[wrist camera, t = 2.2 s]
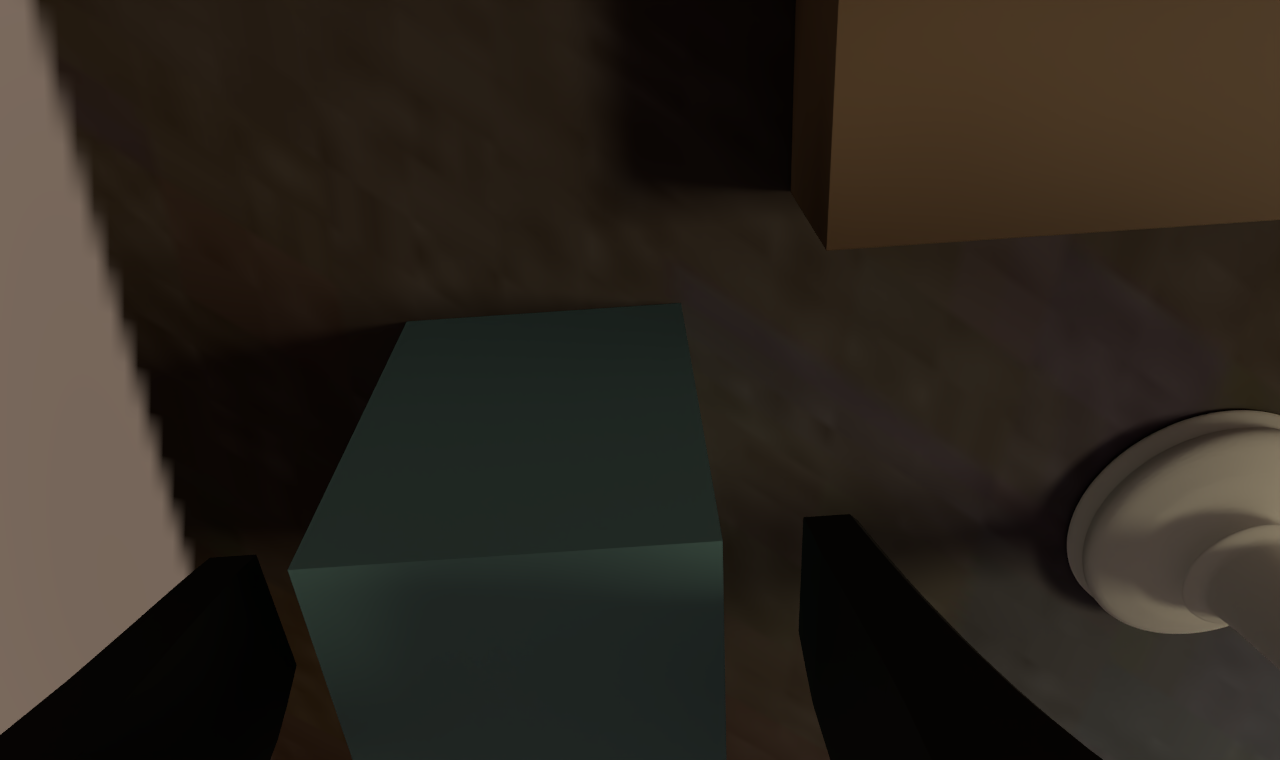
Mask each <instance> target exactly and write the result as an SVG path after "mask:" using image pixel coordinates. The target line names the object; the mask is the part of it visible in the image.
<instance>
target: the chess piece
mask: <svg viewBox="0 0 1280 760" xmlns="http://www.w3.org/2000/svg"><path fill="white" fill-rule="evenodd" d="M1067 556H1068V561H1069V565H1070V568H1071V570H1072V572H1073V575H1074V576H1075V578H1076V580H1077V581H1078V583H1079V584H1080V585H1081V586H1082V588H1083V589H1084V590H1085V591H1086V592H1087V593H1088V594H1090V595H1091V596H1092V597H1094V599H1095V600H1096V602H1097V603H1098V604H1099V605H1100V606H1101V607H1102V608H1103V609H1104V610H1105V611H1106V612H1107V613H1109V614H1110V615H1111V616H1113V617H1114V618H1116V619H1117V620H1119V621H1121V622H1123V623H1125V624H1127V625H1130V626H1133V627H1135V628H1138V629H1142V630H1146V631H1151V632H1157V633H1167V634H1187V633H1197V632H1204V631H1210V630H1215V629H1219V628H1223V627H1227V626H1231V627H1232V628H1233V629H1234V630H1235V631H1237V632H1238V633H1239V634H1240V635H1241V636H1242V637H1244V638H1245V639H1246V640H1247V641H1248V642H1249V643H1250V644H1251V645H1253V646H1254V647H1255V648H1256V649H1257V650H1258V651H1259V652H1260V653H1261V654H1263V655H1264V656H1265V657H1266V658H1267V659H1268V660H1269V661H1270V662H1271V663H1273V664H1274V665H1275V666H1276V667H1277V668H1278V669H1279V670H1280V415H1277V414H1273V413H1269V412H1263V411H1253V410H1231V411H1221V412H1215V413H1209V414H1204V415H1200V416H1196V417H1192V418H1189V419H1186V420H1183V421H1180V422H1177V423H1175V424H1172V425H1170V426H1167V427H1165V428H1163V429H1161V430H1159V431H1157V432H1155V433H1153V434H1151V435H1149V436H1147V437H1145V438H1144V439H1142V440H1140V441H1139V442H1137V443H1136V444H1134V445H1132V446H1131V447H1130V448H1128V449H1127V450H1126V451H1124V452H1123V453H1122V454H1120V455H1119V456H1118V457H1117V458H1115V459H1114V460H1113V461H1112V462H1111V463H1110V464H1109V465H1108V466H1106V467H1105V468H1104V469H1103V470H1102V472H1101V473H1100V474H1099V475H1098V476H1097V477H1096V478H1095V479H1094V481H1093V482H1092V483H1091V484H1090V486H1089V487H1088V488H1087V490H1086V491H1085V493H1084V494H1083V496H1082V497H1081V499H1080V501H1079V503H1078V505H1077V507H1076V509H1075V511H1074V513H1073V516H1072V519H1071V522H1070V525H1069V530H1068V535H1067Z"/></svg>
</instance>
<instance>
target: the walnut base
mask: <svg viewBox="0 0 1280 760" xmlns="http://www.w3.org/2000/svg"><path fill="white" fill-rule="evenodd" d="M791 193H792V195H793V197H794V198H795V200H796V202H797V203H798V205H799V206H800V208H801V210H802V211H803V213H804V215H805V216H806V218H807V220H808V221H809V223H810V224H811V226H812V228H813V229H814V231H815V233H816V234H817V236H818V237H819V239H820V241H821V242H822V244H823V246H824V247H825V249H826V250H842V249H857V248H871V247H886V246H901V245H916V244H930V243H945V242H960V241H974V240H989V239H1004V238H1018V237H1033V236H1048V235H1062V234H1077V233H1092V232H1106V231H1121V230H1136V229H1151V228H1165V227H1180V226H1195V225H1209V224H1224V223H1239V222H1253V221H1268V220H1280V0H796V9H795V48H794V86H793V125H792V163H791Z"/></svg>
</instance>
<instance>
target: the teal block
mask: <svg viewBox="0 0 1280 760" xmlns="http://www.w3.org/2000/svg"><path fill="white" fill-rule="evenodd" d="M288 572H289V575H290V578H291V581H292V584H293V587H294V590H295V593H296V596H297V599H298V602H299V604H300V607H301V610H302V613H303V616H304V619H305V622H306V625H307V628H308V631H309V634H310V637H311V639H312V642H313V645H314V648H315V651H316V654H317V657H318V660H319V663H320V666H321V669H322V672H323V674H324V677H325V680H326V683H327V686H328V689H329V692H330V695H331V698H332V701H333V704H334V707H335V709H336V712H337V715H338V718H339V721H340V724H341V727H342V730H343V733H344V736H345V739H346V741H347V744H348V747H349V750H350V753H351V756H352V759H353V760H726V715H725V655H724V596H723V540H722V535H721V529H720V523H719V518H718V512H717V506H716V501H715V495H714V489H713V484H712V478H711V472H710V466H709V461H708V455H707V449H706V444H705V438H704V432H703V427H702V421H701V415H700V410H699V404H698V398H697V392H696V387H695V381H694V375H693V370H692V364H691V358H690V353H689V347H688V341H687V336H686V330H685V324H684V319H683V313H682V307H681V303H675V304H660V305H645V306H630V307H615V308H601V309H586V310H571V311H556V312H541V313H527V314H512V315H497V316H482V317H467V318H453V319H438V320H423V321H408V322H406V324H405V326H404V328H403V331H402V333H401V335H400V337H399V339H398V341H397V343H396V345H395V347H394V349H393V351H392V353H391V356H390V358H389V360H388V362H387V364H386V366H385V368H384V370H383V372H382V374H381V376H380V379H379V381H378V383H377V385H376V387H375V389H374V391H373V393H372V395H371V397H370V399H369V402H368V404H367V406H366V408H365V410H364V412H363V414H362V416H361V418H360V420H359V422H358V424H357V427H356V429H355V431H354V433H353V435H352V437H351V439H350V441H349V443H348V445H347V447H346V450H345V452H344V454H343V456H342V458H341V460H340V462H339V464H338V466H337V468H336V470H335V472H334V475H333V477H332V479H331V481H330V483H329V485H328V487H327V489H326V491H325V493H324V495H323V498H322V500H321V502H320V504H319V506H318V508H317V510H316V512H315V514H314V516H313V518H312V521H311V523H310V525H309V527H308V529H307V531H306V533H305V535H304V537H303V539H302V541H301V543H300V546H299V548H298V550H297V552H296V554H295V556H294V558H293V560H292V562H291V564H290V566H289V569H288Z"/></svg>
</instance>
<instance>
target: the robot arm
mask: <svg viewBox="0 0 1280 760" xmlns="http://www.w3.org/2000/svg"><path fill="white" fill-rule="evenodd" d="M799 635H800V640H801V646H802V651H803V656H804V661H805V667H806V672H807V677H808V682H809V687H810V692H811V696H812V701H813V705H814V709H815V712H816V715H817V718H818V722H819V725H820V728H821V731H822V734H823V738H824V741H825V744H826V747H827V750H828V754H829V757H830V760H1103V759H1101V758H1100V757H1099V756H1097V755H1096V754H1095V753H1093V752H1092V751H1091V750H1089V749H1088V748H1087V747H1086V746H1084V745H1083V744H1082V743H1081V742H1079V741H1078V740H1077V739H1076V738H1074V737H1073V736H1072V735H1071V734H1070V733H1068V732H1067V731H1066V730H1065V729H1063V728H1062V727H1061V726H1060V725H1058V724H1057V723H1056V722H1055V721H1054V720H1052V719H1051V718H1050V717H1049V716H1048V715H1046V714H1045V713H1044V712H1043V711H1042V710H1041V709H1039V708H1038V707H1037V706H1036V705H1035V704H1034V703H1032V702H1031V701H1030V700H1029V699H1028V698H1027V697H1026V696H1024V695H1023V694H1022V693H1021V692H1020V691H1019V690H1018V689H1017V688H1015V687H1014V686H1013V685H1012V684H1011V683H1010V682H1009V681H1008V680H1007V679H1006V678H1005V677H1004V676H1002V675H1001V674H1000V673H999V672H998V671H997V670H996V669H995V668H994V667H993V666H992V665H991V664H990V663H989V662H987V661H986V660H985V659H984V658H983V657H982V656H981V655H980V654H979V653H978V652H977V651H976V650H975V649H974V648H973V647H972V646H971V645H970V644H969V643H968V642H967V641H966V640H965V639H964V638H963V637H962V636H961V635H960V634H959V633H958V632H957V631H956V630H955V629H954V628H953V627H952V626H951V625H950V624H949V623H948V622H947V621H946V620H945V619H944V618H943V617H942V616H941V615H940V614H939V613H938V611H937V610H936V609H935V608H934V607H933V606H932V605H931V604H930V603H929V602H928V601H927V600H926V599H925V598H924V597H923V596H922V595H921V594H920V592H919V591H918V590H917V589H916V588H915V587H914V586H913V585H912V584H911V583H910V581H909V580H908V579H907V578H906V577H905V576H904V575H903V574H902V572H901V571H900V570H899V569H898V568H897V567H896V566H895V565H894V563H893V562H892V561H891V560H890V559H889V558H888V557H887V555H886V554H885V553H884V552H883V551H882V549H881V548H880V547H879V546H878V545H877V544H876V542H875V541H874V540H873V539H872V538H871V536H870V535H869V534H868V533H867V532H866V530H865V529H864V528H863V527H862V526H861V524H860V523H859V522H858V521H857V520H856V519H855V518H854V517H853V516H852V515H850V514H847V515H832V516H817V517H804V519H803V543H802V566H801V590H800V613H799ZM295 669H296V662H295V660H294V657H293V654H292V651H291V649H290V646H289V643H288V641H287V638H286V635H285V632H284V630H283V627H282V624H281V621H280V619H279V616H278V613H277V611H276V608H275V605H274V602H273V600H272V597H271V594H270V591H269V589H268V586H267V583H266V581H265V578H264V575H263V572H262V570H261V567H260V564H259V561H258V559H257V556H256V555H246V556H231V557H216V558H209V559H208V560H207V561H206V562H204V563H203V564H202V565H201V566H199V567H198V568H197V569H196V570H194V571H193V572H192V573H191V574H190V575H188V576H187V577H186V578H185V579H184V580H182V581H181V582H180V583H179V584H178V585H177V586H176V587H174V588H173V589H172V590H171V591H170V592H169V593H168V594H166V595H165V596H164V597H163V598H162V599H161V600H159V601H158V602H157V603H156V604H155V605H154V606H153V607H152V608H150V609H149V610H148V611H147V612H146V613H145V614H144V615H142V616H141V617H140V618H139V619H138V620H137V621H136V622H135V623H133V624H132V625H131V626H130V627H129V628H128V629H127V630H125V631H124V632H123V633H122V634H121V635H120V636H119V637H117V638H116V639H115V640H114V641H113V642H111V643H110V644H109V645H108V646H107V647H106V648H105V649H103V650H102V651H101V652H100V653H99V654H98V655H97V656H95V657H94V658H93V659H92V660H91V661H90V662H89V663H87V664H86V665H85V666H84V667H83V668H81V669H80V670H79V671H78V672H77V673H76V674H75V675H73V676H72V677H71V678H70V679H69V680H67V682H65V683H64V684H63V685H61V686H60V687H59V688H58V689H56V690H55V691H54V692H53V693H52V694H50V695H49V696H48V697H47V698H45V699H44V700H43V701H42V702H40V703H39V704H38V705H37V706H36V707H34V708H33V709H32V710H31V711H29V712H28V713H27V714H26V715H24V716H23V717H22V718H21V719H20V720H18V721H17V722H16V723H14V725H12V726H11V727H10V728H8V729H7V730H6V731H5V732H3V733H2V734H1V735H0V760H270V759H271V756H272V753H273V751H274V748H275V745H276V743H277V740H278V736H279V733H280V729H281V725H282V722H283V718H284V714H285V711H286V707H287V703H288V699H289V694H290V690H291V686H292V682H293V678H294V673H295Z"/></svg>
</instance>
